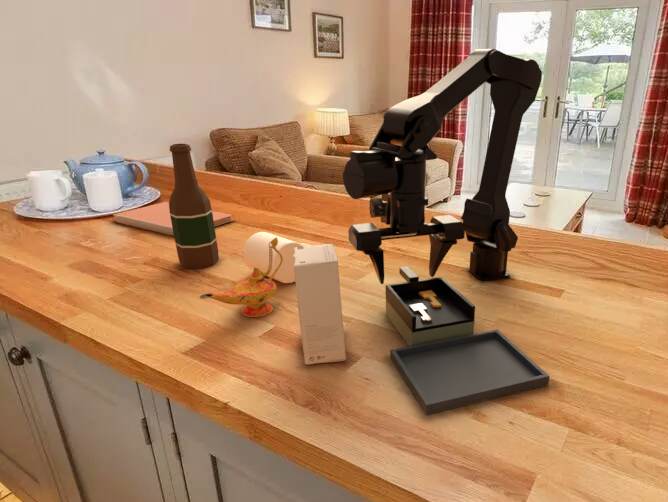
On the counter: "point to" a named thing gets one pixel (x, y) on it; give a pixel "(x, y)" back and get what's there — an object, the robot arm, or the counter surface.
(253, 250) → the mug
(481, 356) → the tray
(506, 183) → the robot arm
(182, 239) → the beer bottle
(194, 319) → the counter surface
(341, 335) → the cosmetic box
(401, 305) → the dish
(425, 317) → the steel key
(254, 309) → the magic lamp
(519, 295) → the counter surface
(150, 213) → the notebook
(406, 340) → the stand
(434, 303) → the brass key
